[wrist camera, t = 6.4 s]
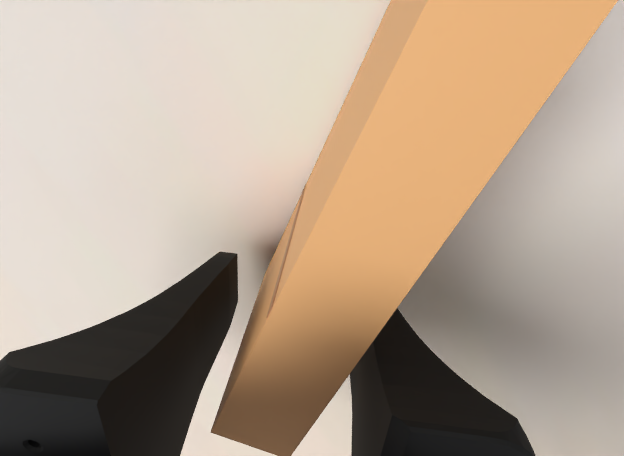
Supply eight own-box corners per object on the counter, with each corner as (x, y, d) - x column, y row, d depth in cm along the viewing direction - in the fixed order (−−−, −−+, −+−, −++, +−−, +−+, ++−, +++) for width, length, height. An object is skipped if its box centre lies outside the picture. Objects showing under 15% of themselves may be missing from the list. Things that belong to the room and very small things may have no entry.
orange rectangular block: (312, 292, 15) (288, 459, 9) (264, 273, 15) (209, 432, 9) (478, -7, 10) (660, -56, 4) (410, -43, 10) (501, -151, 4)
